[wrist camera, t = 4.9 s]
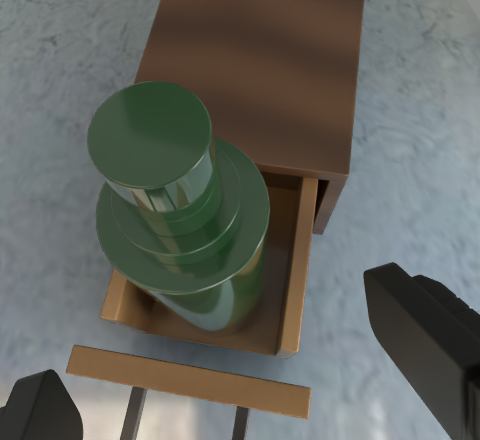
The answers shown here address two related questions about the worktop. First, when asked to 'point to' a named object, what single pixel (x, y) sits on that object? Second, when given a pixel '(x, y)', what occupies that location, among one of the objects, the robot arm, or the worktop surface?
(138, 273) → the bottle
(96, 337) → the worktop surface
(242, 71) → the cabinet
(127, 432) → the drawer
